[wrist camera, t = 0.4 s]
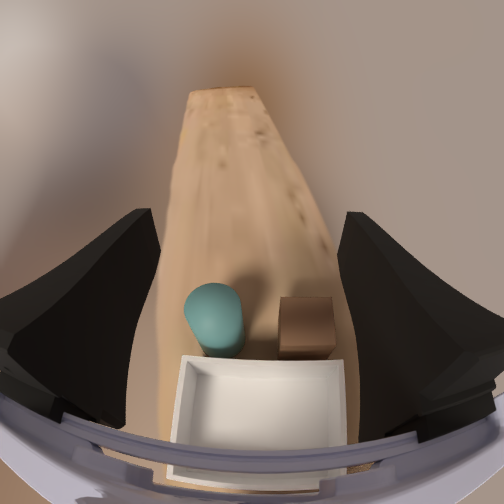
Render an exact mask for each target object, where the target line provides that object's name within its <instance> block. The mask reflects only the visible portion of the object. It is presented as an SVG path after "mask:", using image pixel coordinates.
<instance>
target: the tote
mask: <svg viewBox="0 0 504 504" xmlns="http://www.w3.org/2000/svg"><path fill="white" fill-rule="evenodd" d="M170 442H173V443H179V444H185V445H192V446H200V447H209V448H220V449H234V450H262V451H274V450H302V449H316V448H326V447H335V446H343V445H347V417H346V393H345V376H344V362H343V359H342V360H318V361H264V360H239V359H223V358H210V357H199V356H189V355H182V360H181V366H180V373H179V379H178V386H177V392H176V399H175V406H174V414H173V422H172V430H171V438H170ZM341 475H347V467H346V468H340V469H333V470H324V471H315V472H303V473H283V474H249V473H230V472H218V471H208V470H200V469H192V468H186V467H179V466H174V465H168V466H167V476H166V479H171V480H175V481H180V482H186V483H191V484H197V485H204V486H211V487H219V488H228V489H240V490H259V491H293V490H311V489H319V481H320V480H321V479H325V478H331V477H337V476H341Z"/></svg>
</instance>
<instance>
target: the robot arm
mask: <svg viewBox="0 0 504 504" xmlns="http://www.w3.org/2000/svg"><path fill="white" fill-rule="evenodd" d="M160 253H161V249H160V245H159V241H158V237H157V233H156V229H155V225H154V221H153V217H152V213H151V209H150V208H143V209H135V210H133V211H132V212H130V213H129V214H127V215H126V216H124V217H123V218H121V219H120V220H119V221H117V222H116V223H115V224H114V225H112V226H111V227H110V228H108V229H107V230H106V231H105V232H104V233H102V234H101V235H99V236H98V237H97V238H96V239H94V240H93V241H92V242H90V243H89V244H88V245H86V246H85V247H84V248H83V249H81V250H80V251H79V252H77V253H76V254H75V255H74V256H72V257H70V258H69V259H68V260H66V261H65V262H63V263H62V264H60V265H59V266H57V267H56V268H54V269H53V270H51V271H50V272H48V273H46V274H45V275H43V276H41V277H40V278H38V279H37V280H35V281H33V282H32V283H30V284H28V285H26V286H24V287H23V288H21V289H19V290H17V291H15V292H13V293H11V294H9V295H7V296H5V297H3V298H1V299H0V370H1V372H0V458H1V459H2V460H3V461H4V462H5V463H6V464H7V465H8V466H9V467H10V468H11V469H12V470H13V471H14V472H15V473H16V474H17V475H18V476H19V477H20V478H21V479H23V480H24V481H25V482H26V483H27V484H28V485H29V486H31V487H32V488H33V489H34V490H35V491H36V492H38V493H39V494H40V495H41V496H43V497H44V498H45V499H46V500H48V501H49V502H50V503H52V504H456V503H457V502H459V501H460V500H462V499H463V498H465V497H466V496H467V495H469V494H470V493H471V492H473V491H474V490H475V489H477V488H478V487H479V486H481V485H482V484H483V483H484V482H486V481H487V480H488V479H489V478H490V477H492V476H493V475H494V474H495V473H496V472H497V471H499V470H500V469H501V468H502V467H503V466H504V392H503V393H501V394H499V395H497V396H496V397H494V398H493V395H492V392H491V391H493V390H494V389H495V388H496V384H495V381H494V379H495V378H496V377H497V376H498V375H499V374H500V373H502V372H503V371H504V318H502V317H500V316H499V315H496V314H495V313H493V312H491V311H489V310H487V309H486V308H484V307H482V306H480V305H479V304H477V303H475V302H474V301H472V300H471V299H469V298H467V297H466V296H464V295H463V294H462V293H460V292H459V291H457V290H456V289H454V288H453V287H451V286H450V285H449V284H447V283H446V282H444V281H443V280H442V279H440V278H439V277H438V276H437V275H435V274H434V273H433V272H431V271H430V270H429V269H427V268H426V267H425V266H424V265H422V264H421V263H420V262H419V261H418V260H417V259H416V258H414V257H413V256H412V255H411V254H410V253H409V252H407V251H406V250H405V249H404V248H403V247H402V246H401V245H400V244H399V243H397V242H396V241H395V240H394V239H393V238H392V237H391V236H390V235H389V234H387V233H386V232H385V231H384V230H383V229H382V228H381V227H380V226H379V225H378V224H376V223H375V222H374V221H373V220H372V219H370V218H369V217H368V216H367V215H366V214H364V213H363V212H347V215H346V220H345V224H344V228H343V233H342V237H341V241H340V245H339V249H338V253H337V257H338V264H339V271H340V277H341V281H342V284H343V288H344V292H345V295H346V299H347V303H348V306H349V310H350V314H351V318H352V321H353V325H354V330H355V335H356V342H357V350H358V359H359V374H360V425H359V437H358V439H359V443H357V444H350V445H343V446H335V447H326V448H316V449H302V450H274V451H262V450H234V449H220V448H209V447H200V446H192V445H185V444H179V443H173V442H167V441H162V440H157V439H152V438H147V437H143V436H138V435H134V434H130V433H126V432H122V431H118V430H115V429H120V428H122V427H124V425H126V422H125V421H126V419H125V418H126V417H125V416H126V413H125V412H126V388H127V378H128V369H129V362H130V356H131V350H132V344H133V340H134V334H135V330H136V327H137V323H138V320H139V317H140V314H141V311H142V308H143V306H144V303H145V300H146V298H147V295H148V292H149V289H150V287H151V284H152V281H153V279H154V276H155V273H156V270H157V266H158V262H159V257H160ZM90 421H92V422H94V423H92V422H90ZM96 423H98V424H96ZM99 424H101V425H99ZM102 425H105V426H108V427H111V428H108V427H105V426H102ZM112 428H115V429H112ZM99 446H100V447H104V448H107V449H110V450H113V451H116V452H119V453H123V454H126V455H130V456H133V457H138V458H141V459H145V460H149V461H154V462H159V463H163V464H168V465H174V466H179V467H186V468H192V469H200V470H208V471H218V472H230V473H249V474H283V473H303V472H315V471H324V470H333V469H340V468H346V467H353V466H358V465H363V464H369V463H373V462H375V463H374V464H373V465H372V466H371V468H370V469H369V470H367V471H363V472H358V473H352V474H347V475H341V476H337V477H331V478H325V479H321V480H320V481H319V492H313V493H299V494H238V493H223V492H212V491H203V490H195V489H188V488H182V487H176V486H170V485H165V484H160V483H155V482H153V481H152V480H153V470H152V469H149V468H145V467H142V466H138V465H135V464H131V463H128V462H126V461H122V460H119V459H116V458H113V457H110V456H107V455H105V454H104V453H103V451H102V449H101V448H100V447H99Z"/></svg>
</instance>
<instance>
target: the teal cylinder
mask: <svg viewBox="0 0 504 504" xmlns="http://www.w3.org/2000/svg"><path fill="white" fill-rule="evenodd" d="M184 314H185V317H186V320H187V321H188V323H189V325H190V327H191V329H192V331H193V333H194V335H195V337H196V339H197V341H198V342H199V344H200V346H201V348H202V350H203V351H204V352H205V353H206V354H207V355H208V356H210V357H212V358H223V359H229V358H231V357H233V356H235V355H237V354H238V353H239V352H240V351H241V349H242V348H243V346H244V343H245V331H244V324H243V317H242V309H241V302H240V298H239V296H238V295H237V293H236V292H235V291H234V290H233V289H232V288H230V287H229V286H227V285H224V284H220V283H209V284H205V285H202V286H200V287H198V288H196V289H195V290H194V291H192V292H191V293H190V295H189V296H188V298H187V299H186V302H185V305H184Z"/></svg>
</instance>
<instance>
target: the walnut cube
mask: <svg viewBox="0 0 504 504" xmlns="http://www.w3.org/2000/svg"><path fill="white" fill-rule="evenodd" d="M335 346H336V335H335V324H334V314H333V305H332V297H281V300H280V309H279V317H278V361H318V360H327V358H328V357H329V355H330V354H331V352H332V351H333V349H334V348H335Z"/></svg>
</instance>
